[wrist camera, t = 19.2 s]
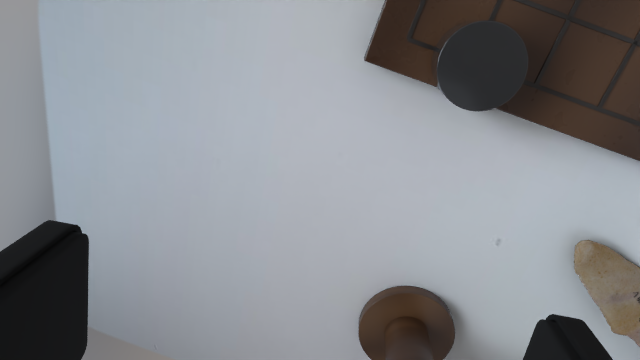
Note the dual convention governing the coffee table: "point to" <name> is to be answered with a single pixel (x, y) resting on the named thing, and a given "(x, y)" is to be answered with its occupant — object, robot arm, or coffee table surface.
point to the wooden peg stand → (406, 325)
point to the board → (538, 59)
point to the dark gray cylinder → (479, 64)
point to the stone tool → (611, 286)
